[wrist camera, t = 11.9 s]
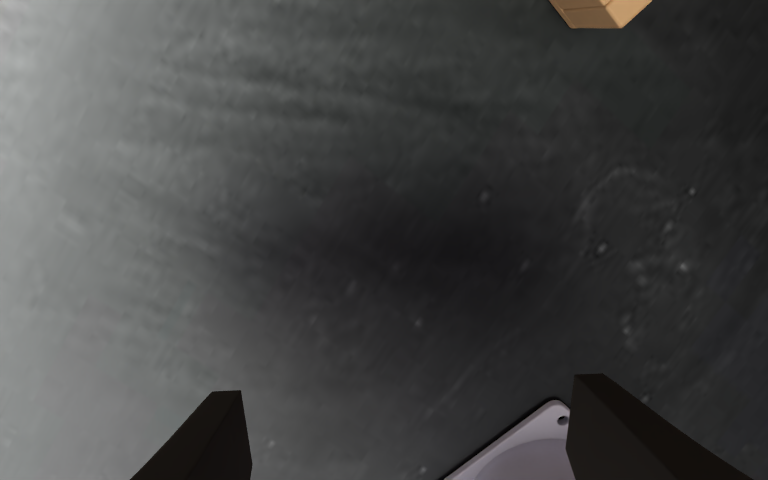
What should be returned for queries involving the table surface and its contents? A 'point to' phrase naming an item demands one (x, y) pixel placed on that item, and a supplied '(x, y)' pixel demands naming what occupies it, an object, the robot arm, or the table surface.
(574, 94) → the table surface
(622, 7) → the desk tray
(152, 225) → the table surface
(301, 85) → the table surface
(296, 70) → the table surface
